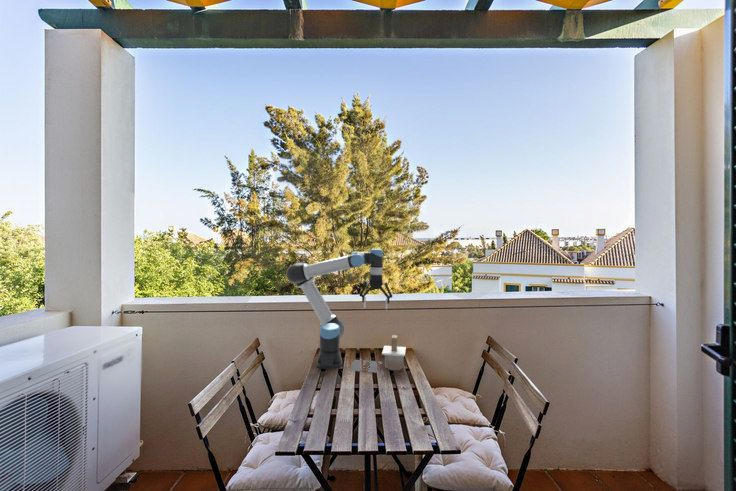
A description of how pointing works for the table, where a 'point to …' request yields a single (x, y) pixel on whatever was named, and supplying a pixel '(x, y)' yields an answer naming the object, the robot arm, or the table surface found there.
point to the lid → (394, 348)
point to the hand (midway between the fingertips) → (375, 308)
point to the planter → (393, 362)
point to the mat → (356, 367)
